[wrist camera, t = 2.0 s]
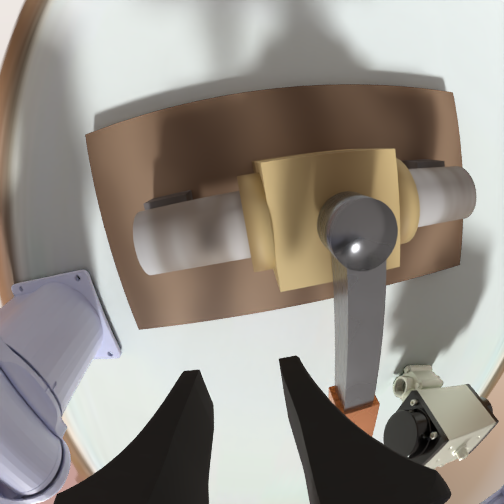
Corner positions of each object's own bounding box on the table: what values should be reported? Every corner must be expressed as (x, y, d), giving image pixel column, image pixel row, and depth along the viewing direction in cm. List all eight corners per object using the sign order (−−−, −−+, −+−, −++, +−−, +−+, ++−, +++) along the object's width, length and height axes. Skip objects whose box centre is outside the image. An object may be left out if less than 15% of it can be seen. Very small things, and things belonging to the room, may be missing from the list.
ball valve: (143, 321, 20) (112, 387, 13) (93, 135, 16) (25, 131, 9) (451, 259, 20) (508, 296, 13) (443, 94, 16) (510, 84, 9)
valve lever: (311, 195, 11) (329, 204, 9) (371, 187, 11) (399, 195, 9) (324, 434, 16) (332, 459, 14) (361, 424, 16) (371, 448, 14)
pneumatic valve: (378, 357, 23) (438, 456, 12) (454, 358, 25) (510, 425, 13) (353, 398, 25) (394, 494, 13) (430, 393, 26) (475, 462, 15)
